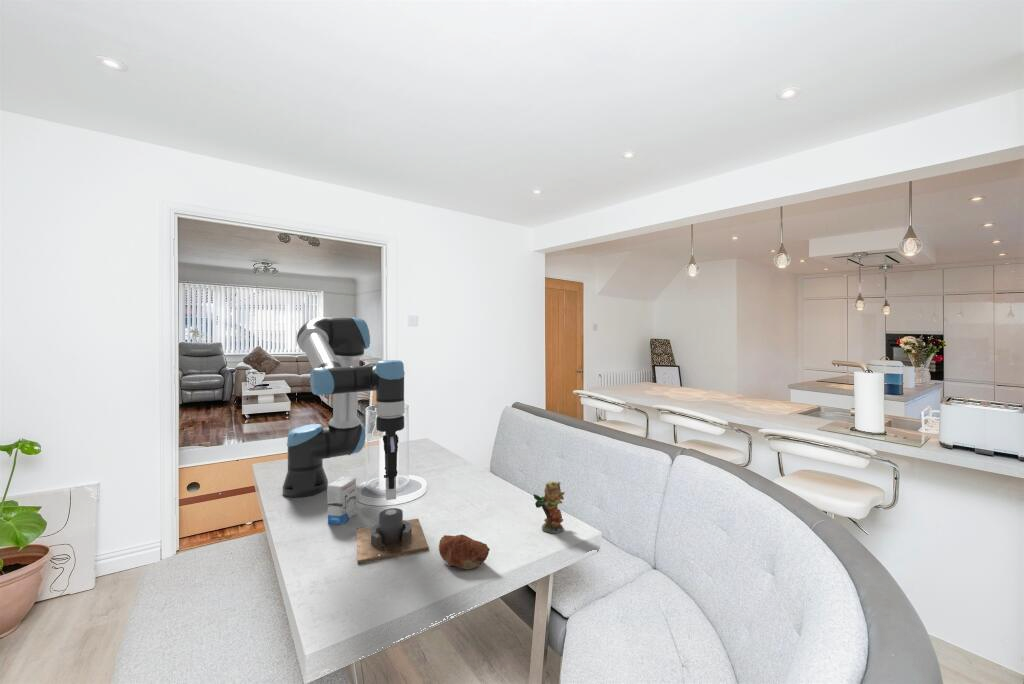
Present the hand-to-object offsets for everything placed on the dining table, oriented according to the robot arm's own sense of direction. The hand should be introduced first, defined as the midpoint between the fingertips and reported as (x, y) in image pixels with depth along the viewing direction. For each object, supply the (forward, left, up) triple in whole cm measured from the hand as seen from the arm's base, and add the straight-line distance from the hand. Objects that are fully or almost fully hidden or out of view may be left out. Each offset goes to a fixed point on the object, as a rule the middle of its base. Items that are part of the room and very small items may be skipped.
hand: (390, 498), depth 117 cm
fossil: (+18, +16, -13) cm, 27 cm away
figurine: (+10, +45, -12) cm, 48 cm away
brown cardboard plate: (0, 0, -12) cm, 12 cm away
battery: (0, 0, -11) cm, 11 cm away
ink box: (-20, -13, -12) cm, 27 cm away
